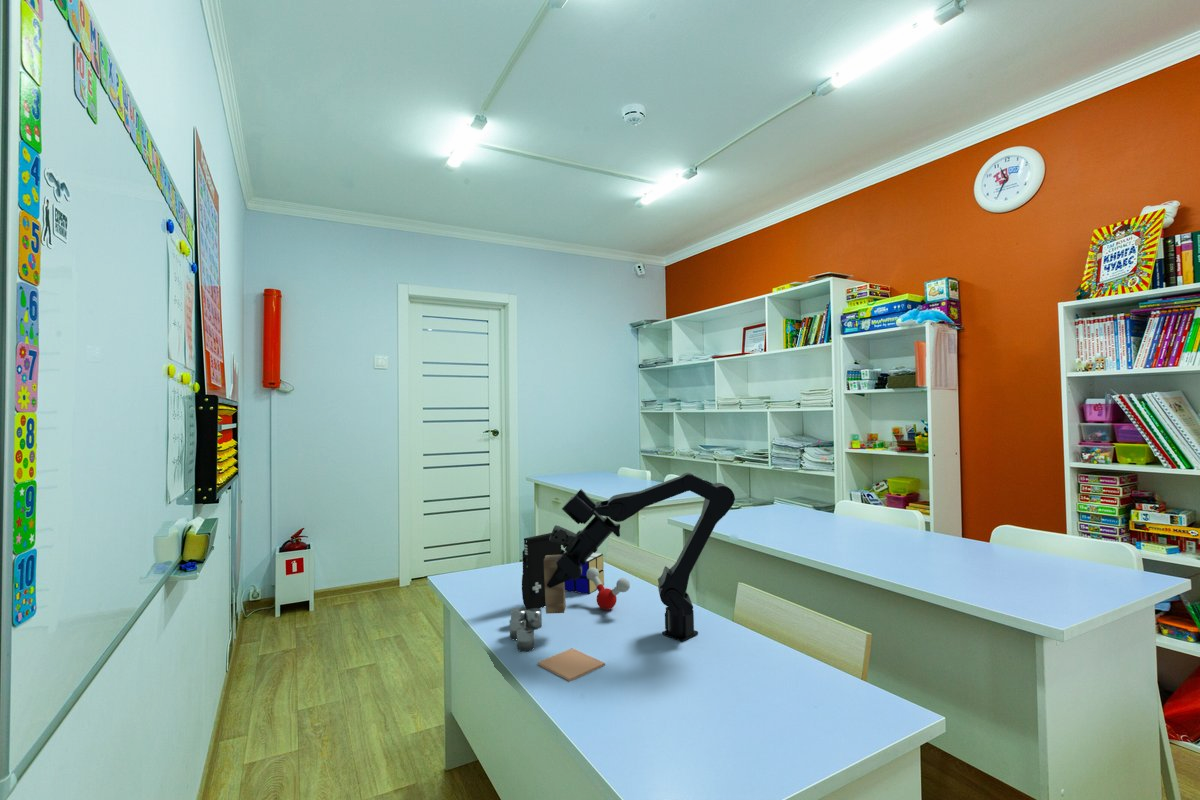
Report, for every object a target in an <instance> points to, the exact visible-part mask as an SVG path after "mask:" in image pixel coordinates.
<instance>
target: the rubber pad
mask: <svg viewBox="0 0 1200 800" xmlns="http://www.w3.org/2000/svg"><path fill="white" fill-rule="evenodd" d="M536 663H537V666H539V665H540V667H541V668H544V669H545V670H546V671H548V672H550V673H553V674H555V675H557V676H558V677H561V678H562V679H564V680H566V681H568V682H572V681H574V680H577V679H578V678H580V677H582V676H584V675H587V674H589V673H591V672H594V671H596V670H597V669H600V668H601V667H604V666H606V663H605V662H604V661H602V660H600V659H597V658H595V657H593V656H590V655H588V654H586V653H584V652H582V651H580V650H577V649H575V648H573V647H572V648H569V649H567V650H564V651H562V652H559V653H556V654H555V655H552V656H550V657H547V658H545V659H541V660H540V661H538V662H536Z"/></svg>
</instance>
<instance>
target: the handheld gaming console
mask: <svg viewBox="0 0 1200 800" xmlns="http://www.w3.org/2000/svg"><path fill="white" fill-rule="evenodd" d="M551 533H552V532H548V533H542V534H538V535H534V536H529V537H525V538H523V541H524V542H523V544H524V545H523V546H524V547H523V548H524V549H523V550H522V575H521V593H522V602H523V606H524V608H525V609H526V610H528V609H531V608H539V609H542V608H545V607H544V606H546V602H545V580H544V558H545V556H546V555H560V552H561V549H562V545H560V544H558V543H555V542H554V543H553V542H551V541H550V540H549V538H550V536H551ZM541 607H542V608H541Z"/></svg>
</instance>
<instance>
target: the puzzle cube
mask: <svg viewBox="0 0 1200 800" xmlns="http://www.w3.org/2000/svg"><path fill="white" fill-rule="evenodd" d="M604 560H605V559H604V554H603V553H601V552H600V553H599V552H595V553H593V554H592V555H591V556H590V557H589V558H588V559H587V560H586V563H585V564H584V565H582V564H581V563H580V562H579V563H580V564H581V565H582V574H581V576H580V577H579V578H578V579H577V580H576V581H575V580H573V579H570V580H568V581H565V590H568V591H567V592H571V591H576V592H575V593H578V592H581V593H580V594H584V593H587V594H586V595H590V594H591V592H592V593H593V592H594V591H596V590H598V589H597V587H596V586H595V584H594V582H593V581H591V580H589V579H588V578H587V571H588V569H589V568H592V567H594V568H596V569H597V570H598V571H599V577H598V578H599V580H600V581H601V583H602V585H603V586H604V585H605V571H604V569H605V567H604V566H605V565H604Z"/></svg>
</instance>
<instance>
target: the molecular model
mask: <svg viewBox="0 0 1200 800" xmlns="http://www.w3.org/2000/svg"><path fill="white" fill-rule="evenodd" d="M598 577H599V571H598V570H597V569H596V568H594V567H592V568H589V569H588V571H587V578H588V579H589V580H591V581H593V582H594V584H595V586H596V587H597V589H596V590H597V591H598V593H597V595H596V603H597V605H598V607H599V608H601V609H602V610H611V609H613V608H614V607H615V606H616V603H617V599H618V598H617V595H619V594H620V593H626V592H628V591H629V589H630V587H631V583H630V580H628V579H627V578H625V577H621V578H619V579H618V580H617V581H616V585H615V587H614V588H605V586H604V585H602V583H601V581H600V580H599V578H598Z"/></svg>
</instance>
